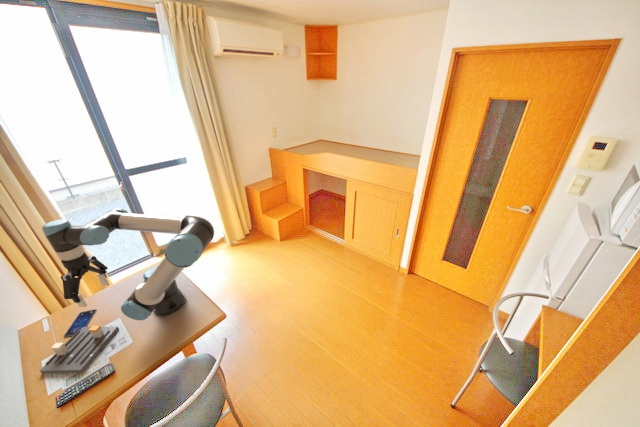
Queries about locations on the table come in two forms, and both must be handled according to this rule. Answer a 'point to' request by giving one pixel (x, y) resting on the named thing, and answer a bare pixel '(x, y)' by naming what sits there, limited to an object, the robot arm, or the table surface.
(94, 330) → the block
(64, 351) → the fader
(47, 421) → the table surface
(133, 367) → the table surface
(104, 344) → the console
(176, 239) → the robot arm
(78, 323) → the smartphone
